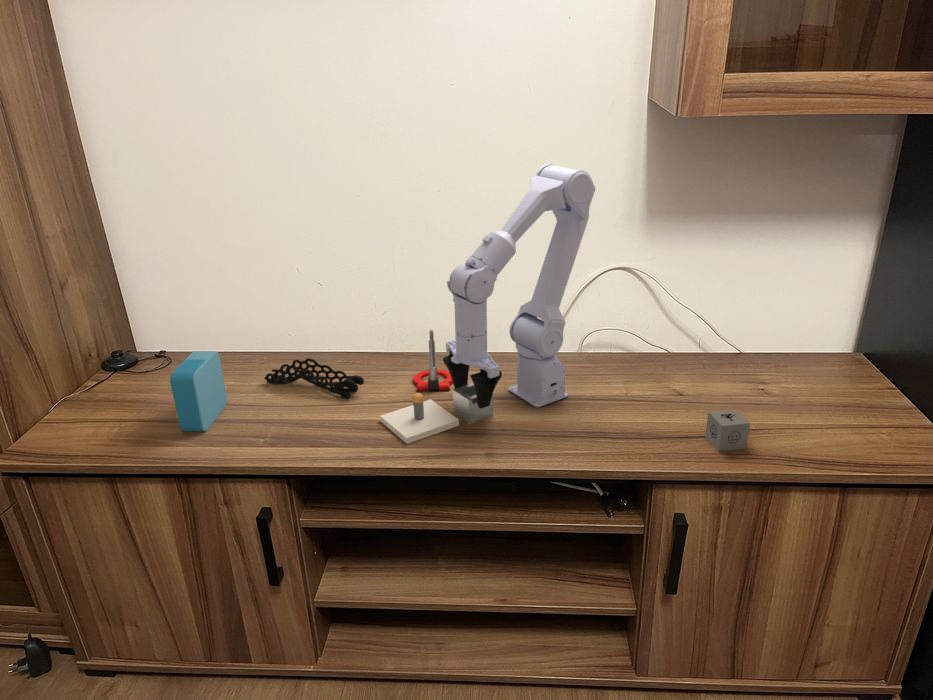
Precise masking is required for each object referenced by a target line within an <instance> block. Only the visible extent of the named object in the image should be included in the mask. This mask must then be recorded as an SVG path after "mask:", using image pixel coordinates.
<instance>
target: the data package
mask: <svg viewBox="0 0 933 700" xmlns="http://www.w3.org/2000/svg"><path fill="white" fill-rule="evenodd" d="M169 381H170V387H171V391H172V397H173V401H174V406H175V410H176V416H177V419H178V425H179V428H180V430H181V431H182V432H207V431H208V430H209V429H210V427H212V425H213V424H214V423H215V421H216V420H217V419H218V417H219V416H220V415H221V413H222V412H223V411H224V410H225V408H226V406H227V404H228V396H227V392H226V391H227V390H226V385H225V380H224V375H223V368H222V363H221V358H220V354H219V352H218V351H216V350H214V351H213V350H195V351H193V352H191V353H190V354H189V355H188V356H187V357H186V358H185V359H184V360H183V361H182V362H181V363H180V364H179V365H178V367H176V368H174V370H173V371H172V373H171V375H170V380H169Z"/></svg>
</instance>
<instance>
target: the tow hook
mask: <svg viewBox="0 0 933 700" xmlns="http://www.w3.org/2000/svg"><path fill="white" fill-rule="evenodd" d="M428 332H429V340H428V353H429V354H428V355H429V366H428V370H427V369H426V370H422V371H420V372H417V373H416V374H414V376H413V384H414V385H416V391H417V392H427V391H428V392H439V391H451V385H452V384H453V381H452V378H451V375H450V372H449V370H443V369H438V367H437V366H436V340H434V338H435V337H434V330H432V329H431V330H429V331H428ZM438 376H441V377H443V378H445V379H444V380H442V381H439V380H440V379H439V377H438ZM426 377H428V378H427V381H424V380H423V378H426Z"/></svg>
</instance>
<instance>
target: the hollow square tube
mask: <svg viewBox="0 0 933 700" xmlns="http://www.w3.org/2000/svg"><path fill="white" fill-rule="evenodd" d="M452 402H453V403H452V405H453V409H452V410H453V412H452V413H453V414H455V415H456V416H457V417H458V418H459V419H461V420H463V421H464V422H466V423H467V424H469V425H471V424H475V423H478V422H480V421H482V420H484V419H488V418H490V417H491V418H492V417H494V394H493V395H492V398H491V402H490V405H489V406H487V407H484V408H482V409H481V408H479V407H478V403H477V395H476V389H475V386H474V383H473V382H471V383H468V384H467V385H464V386H461V387H458V388H453V389H452Z"/></svg>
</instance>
